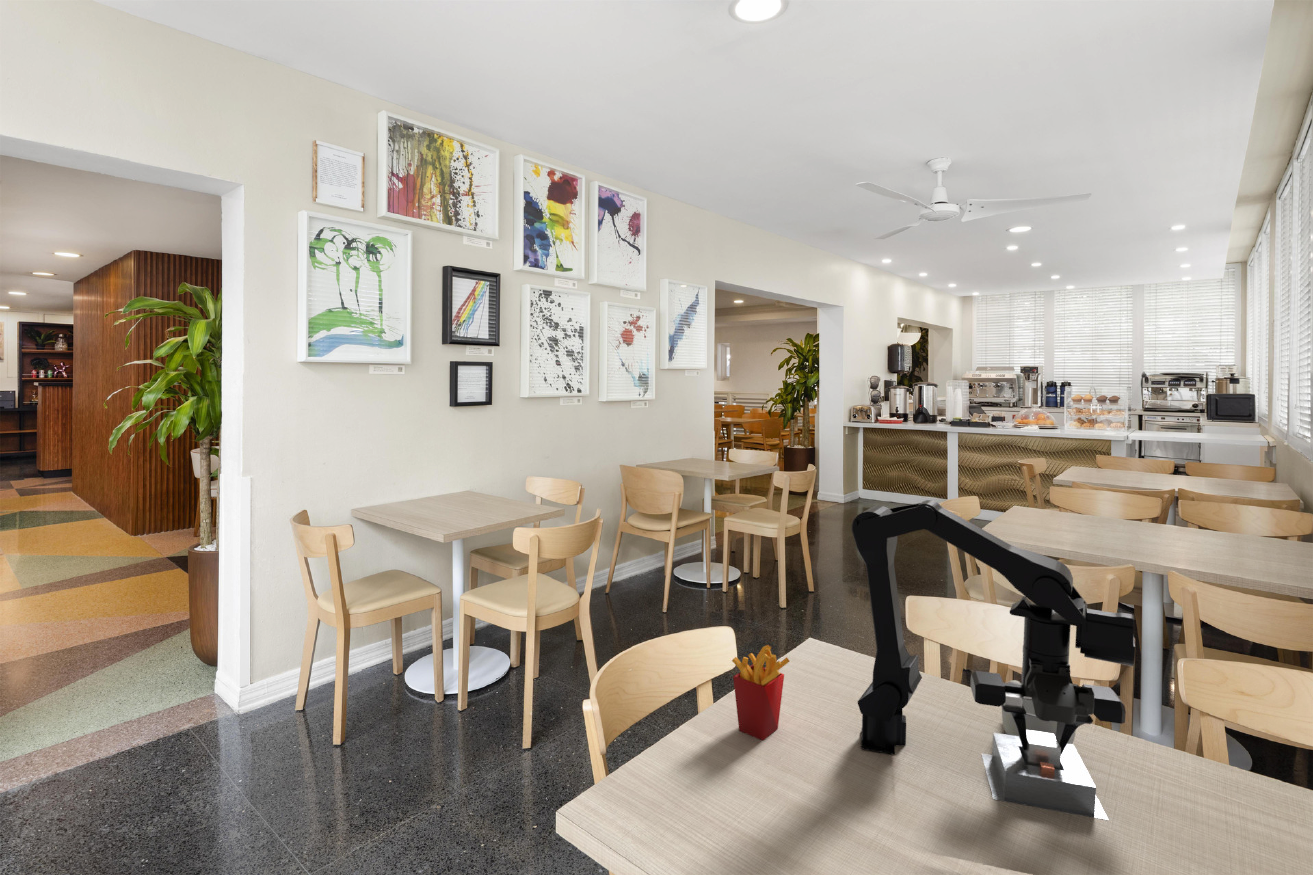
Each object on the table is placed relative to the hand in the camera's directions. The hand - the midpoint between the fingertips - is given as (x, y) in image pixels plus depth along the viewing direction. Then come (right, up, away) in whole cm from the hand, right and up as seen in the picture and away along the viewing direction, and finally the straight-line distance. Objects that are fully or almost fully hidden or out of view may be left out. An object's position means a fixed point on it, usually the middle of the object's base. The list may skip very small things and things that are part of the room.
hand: (1041, 751), depth 95 cm
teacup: (+7, -5, +14) cm, 16 cm away
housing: (0, -6, +1) cm, 6 cm away
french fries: (-37, -5, +18) cm, 42 cm away
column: (0, -5, 0) cm, 5 cm away
